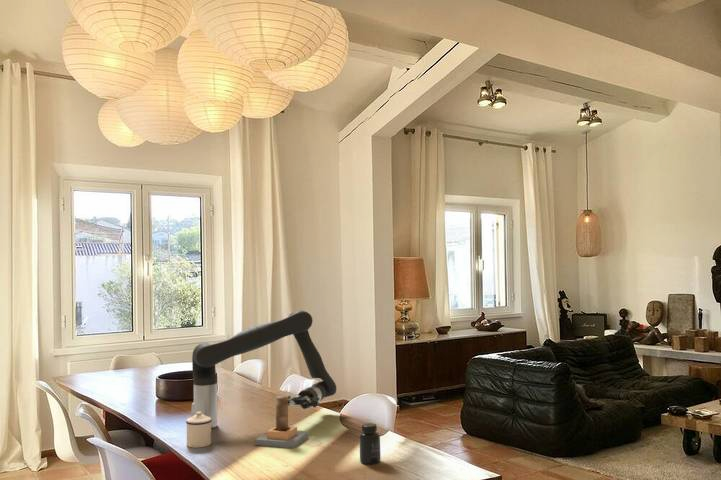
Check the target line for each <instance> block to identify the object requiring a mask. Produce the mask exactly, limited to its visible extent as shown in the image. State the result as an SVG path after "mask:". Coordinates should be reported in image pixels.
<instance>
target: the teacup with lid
mask: <svg viewBox="0 0 721 480" xmlns="http://www.w3.org/2000/svg"><path fill="white" fill-rule="evenodd" d="M211 421H212V419H211V417H208V416H205V415H203V414H202V412H197V413H196V415H194V416H193V417H192V416H191V417H188V418H187V419H186V421H185V423H186V446H188V447H189V448H194V449H195V448H204V447H208V446H210V445H211V444H212V428H211Z"/></svg>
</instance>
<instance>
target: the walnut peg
mask: <svg viewBox="0 0 721 480" xmlns="http://www.w3.org/2000/svg"><path fill="white" fill-rule="evenodd" d="M275 426H276V431H287V430H288V426H289V406H288V396H286V395H281V396H280V395H277V396H275Z"/></svg>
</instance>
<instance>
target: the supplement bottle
mask: <svg viewBox="0 0 721 480" xmlns="http://www.w3.org/2000/svg"><path fill="white" fill-rule="evenodd" d="M377 425H378V424H376V423H374V422H373V423H372V422H371V423H370V422H369V423H368V422H367V423H366V422H365V423H364V424H362V425H361V433H360V434H359V437H358V438H359V462H360V463H361V464H363V465H368V466H369V465H377V464H379V463H380V462H381V458H382V457H381V435H380V433H378V432H377V430H378V428H377Z"/></svg>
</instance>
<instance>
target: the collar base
mask: <svg viewBox="0 0 721 480" xmlns="http://www.w3.org/2000/svg"><path fill="white" fill-rule="evenodd" d="M305 439H306V440H307V439H309V432H308V431H298V426H293V425H292V426H290V425H288V430H287V431H276V425H275V426H273V427H271V428H269V429H268V430H266V432H265V433H263V434H262V435H260V436H258V437H257V438H254V445H255V446H263V447H275V448H287V449H294V448H296V447H297V446H298V445H300V444H301V443H302V442H303V443H304V441H305Z"/></svg>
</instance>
